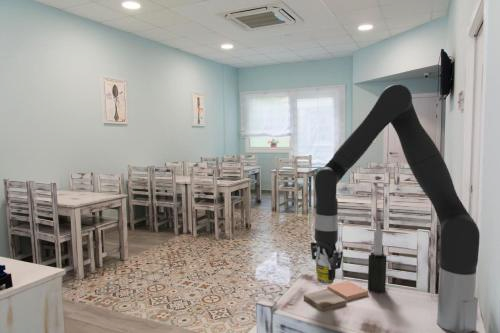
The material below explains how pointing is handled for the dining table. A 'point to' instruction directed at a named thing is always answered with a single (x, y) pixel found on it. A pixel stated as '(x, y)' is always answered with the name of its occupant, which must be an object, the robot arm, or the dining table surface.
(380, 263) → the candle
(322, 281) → the supplement bottle
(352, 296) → the terracotta tile
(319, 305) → the walnut mat
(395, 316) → the dining table surface
